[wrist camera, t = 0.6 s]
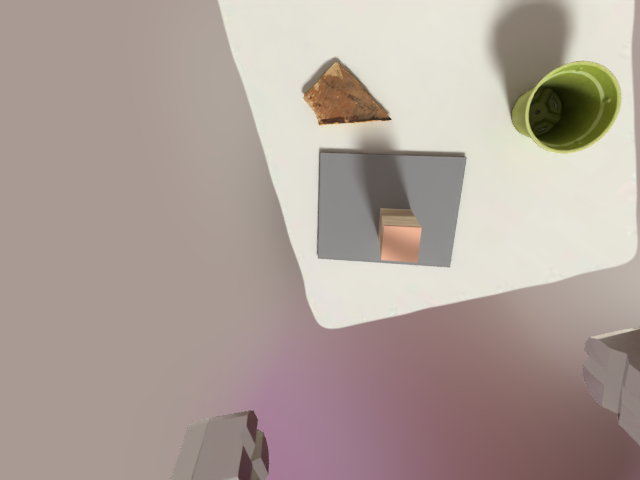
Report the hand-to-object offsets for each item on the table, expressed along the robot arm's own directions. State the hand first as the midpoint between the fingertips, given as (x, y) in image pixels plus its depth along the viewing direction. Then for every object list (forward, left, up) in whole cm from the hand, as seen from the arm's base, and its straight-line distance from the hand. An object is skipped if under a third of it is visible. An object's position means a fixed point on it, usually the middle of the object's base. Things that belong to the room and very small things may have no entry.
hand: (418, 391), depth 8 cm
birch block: (+7, +4, -44) cm, 44 cm away
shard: (-11, -4, -45) cm, 46 cm away
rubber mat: (+5, +2, -44) cm, 45 cm away
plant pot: (-9, +21, -45) cm, 50 cm away
